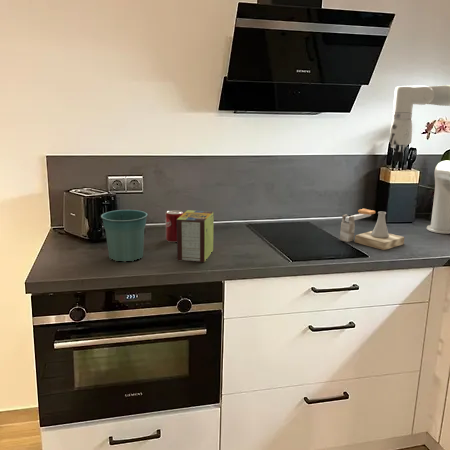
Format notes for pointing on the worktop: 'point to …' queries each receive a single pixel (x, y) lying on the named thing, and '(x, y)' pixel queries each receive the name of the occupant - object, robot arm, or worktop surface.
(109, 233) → the flower pot
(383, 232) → the flask
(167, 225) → the soda can
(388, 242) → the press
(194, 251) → the protein box
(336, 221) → the worktop surface
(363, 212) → the lever
